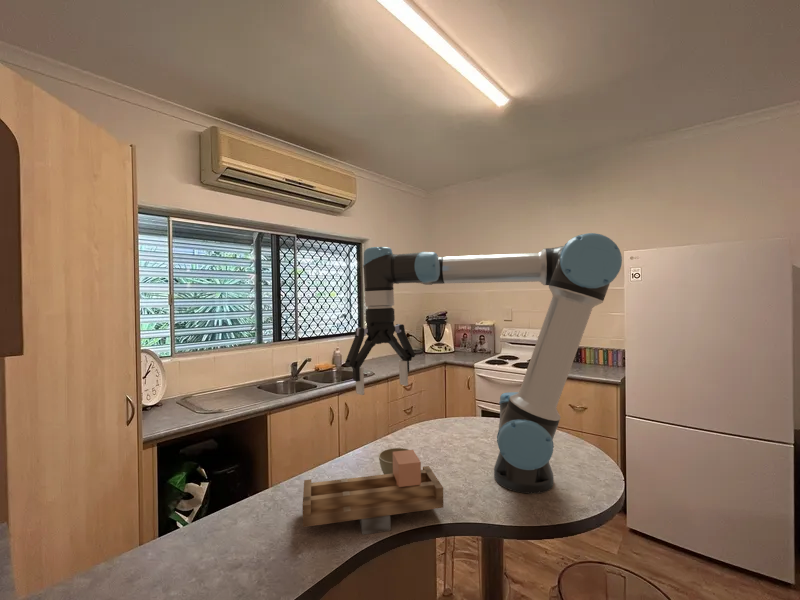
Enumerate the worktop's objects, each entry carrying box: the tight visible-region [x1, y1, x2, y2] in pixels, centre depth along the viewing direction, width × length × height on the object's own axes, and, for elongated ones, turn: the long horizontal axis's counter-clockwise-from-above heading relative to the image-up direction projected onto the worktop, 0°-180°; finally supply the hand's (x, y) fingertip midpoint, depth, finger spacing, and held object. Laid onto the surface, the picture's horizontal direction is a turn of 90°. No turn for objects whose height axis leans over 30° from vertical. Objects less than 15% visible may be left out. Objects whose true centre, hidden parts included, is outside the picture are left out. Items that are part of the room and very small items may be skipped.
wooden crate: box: [302, 465, 444, 535], centre depth 86 cm, size 30×12×8 cm, turn 102°
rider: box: [393, 449, 422, 487], centre depth 87 cm, size 5×7×7 cm
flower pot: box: [378, 447, 410, 475], centre depth 102 cm, size 10×10×7 cm
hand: (383, 389), depth 99 cm, fingers open, 13 cm apart
